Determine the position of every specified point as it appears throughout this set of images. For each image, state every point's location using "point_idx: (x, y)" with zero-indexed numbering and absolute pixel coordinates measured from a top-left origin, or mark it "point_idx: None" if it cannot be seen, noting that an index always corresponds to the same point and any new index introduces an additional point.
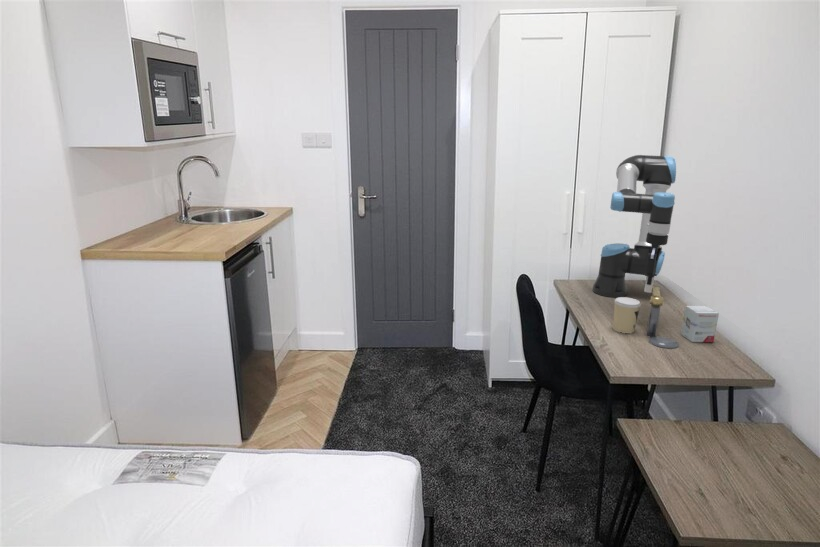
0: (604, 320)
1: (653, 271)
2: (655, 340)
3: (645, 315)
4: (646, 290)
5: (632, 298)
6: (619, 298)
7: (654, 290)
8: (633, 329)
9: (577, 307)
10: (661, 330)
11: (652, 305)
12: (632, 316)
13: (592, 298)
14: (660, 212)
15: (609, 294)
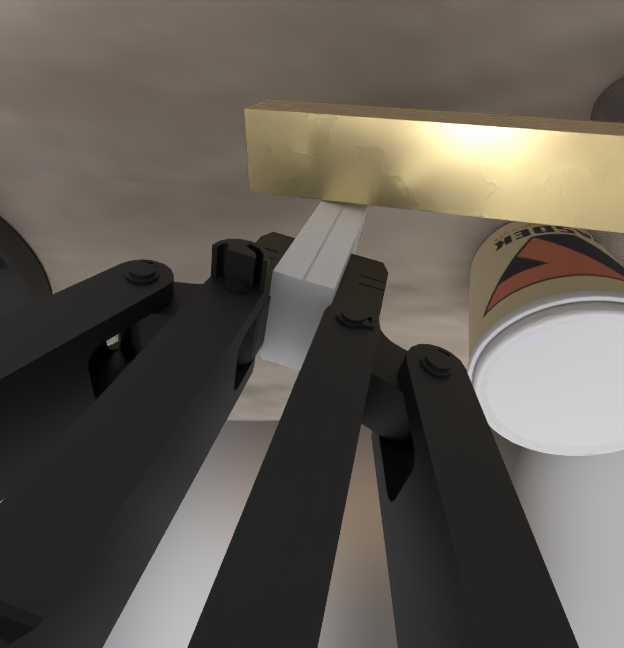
0: (398, 335)
1: (496, 455)
2: None
3: (212, 109)
4: (355, 251)
5: (497, 349)
6: (510, 426)
7: (440, 194)
8: (587, 233)
9: (269, 405)
10: (489, 9)
11: None
12: None
13: (117, 340)
14: None
15: (35, 280)
